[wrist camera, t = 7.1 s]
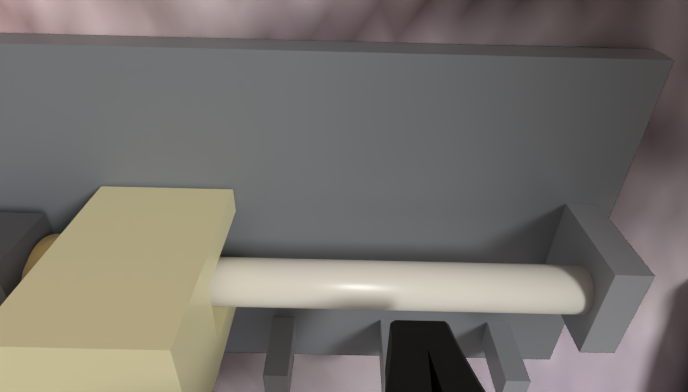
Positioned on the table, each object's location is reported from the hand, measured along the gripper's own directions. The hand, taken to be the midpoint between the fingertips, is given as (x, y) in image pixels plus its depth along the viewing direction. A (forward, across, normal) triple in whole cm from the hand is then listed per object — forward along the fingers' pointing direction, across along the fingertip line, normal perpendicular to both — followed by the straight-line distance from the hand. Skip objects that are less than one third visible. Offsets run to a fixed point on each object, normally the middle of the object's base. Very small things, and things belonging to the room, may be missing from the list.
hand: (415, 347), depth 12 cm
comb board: (+5, +4, 0) cm, 7 cm away
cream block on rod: (+4, +7, 0) cm, 8 cm away
